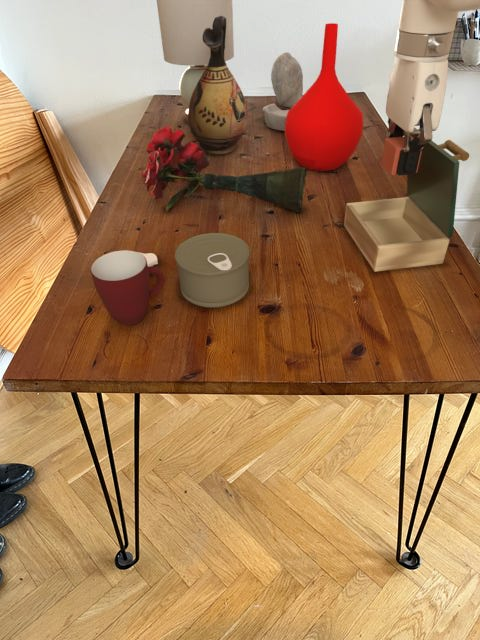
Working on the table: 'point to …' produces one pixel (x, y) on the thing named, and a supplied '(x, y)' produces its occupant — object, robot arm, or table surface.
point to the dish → (275, 117)
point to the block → (393, 154)
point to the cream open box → (395, 234)
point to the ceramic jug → (217, 99)
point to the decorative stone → (287, 80)
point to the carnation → (189, 161)
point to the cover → (437, 183)
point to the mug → (125, 284)
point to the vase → (324, 117)
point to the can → (213, 269)
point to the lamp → (192, 36)
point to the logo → (150, 259)
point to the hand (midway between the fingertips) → (399, 166)
